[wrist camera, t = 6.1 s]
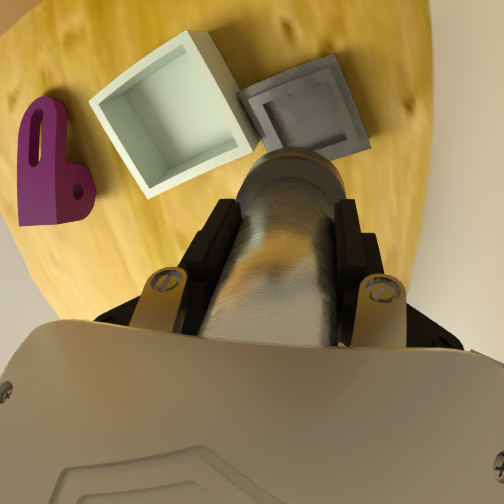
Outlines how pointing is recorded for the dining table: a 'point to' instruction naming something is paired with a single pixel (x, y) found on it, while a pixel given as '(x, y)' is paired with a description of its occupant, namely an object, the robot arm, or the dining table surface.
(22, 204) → the mounting bracket
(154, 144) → the bin
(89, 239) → the dining table surface
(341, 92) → the socket block
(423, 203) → the dining table surface
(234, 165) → the dining table surface
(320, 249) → the grey rounded piece
